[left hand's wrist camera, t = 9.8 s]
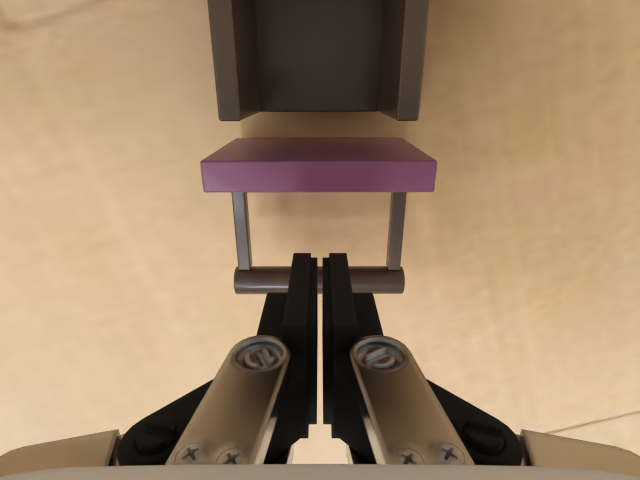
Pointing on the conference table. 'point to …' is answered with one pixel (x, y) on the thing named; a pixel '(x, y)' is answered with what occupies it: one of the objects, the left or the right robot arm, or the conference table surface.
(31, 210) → the conference table surface
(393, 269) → the drawer
